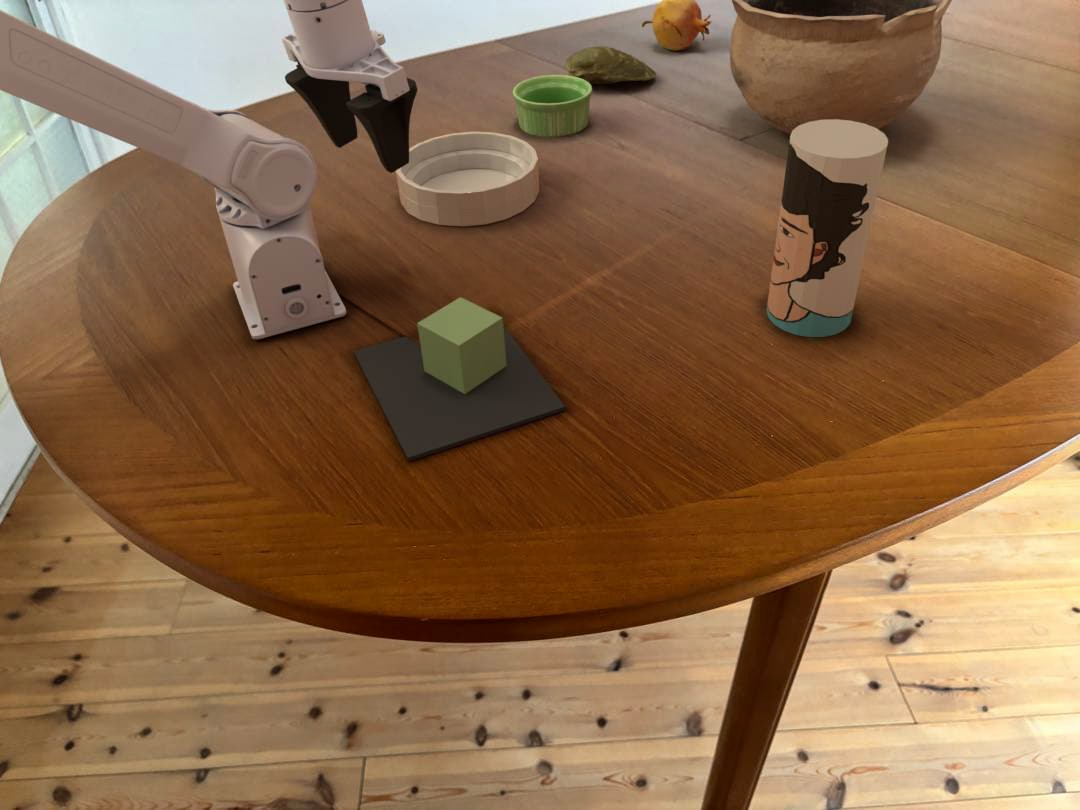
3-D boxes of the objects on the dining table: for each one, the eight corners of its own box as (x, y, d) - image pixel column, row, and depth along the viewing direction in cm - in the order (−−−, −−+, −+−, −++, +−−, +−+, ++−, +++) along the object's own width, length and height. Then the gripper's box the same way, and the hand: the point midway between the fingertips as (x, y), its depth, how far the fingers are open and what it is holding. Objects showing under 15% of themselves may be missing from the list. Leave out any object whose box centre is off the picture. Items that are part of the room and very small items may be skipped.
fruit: (629, 6, 121) (698, 15, 117) (653, -21, 124) (721, -13, 120) (635, 53, 127) (701, 63, 122) (658, 26, 130) (723, 35, 125)
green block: (506, 366, 70) (502, 317, 68) (465, 394, 68) (458, 345, 65) (466, 344, 73) (460, 296, 70) (424, 371, 70) (416, 323, 68)
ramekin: (512, 114, 110) (510, 77, 107) (587, 108, 110) (586, 71, 107) (517, 145, 103) (515, 106, 100) (597, 138, 103) (597, 100, 100)
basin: (561, 209, 90) (560, 172, 88) (427, 244, 86) (422, 205, 84) (507, 157, 100) (504, 121, 98) (384, 185, 96) (378, 149, 94)
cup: (797, 282, 78) (824, 111, 69) (867, 312, 75) (906, 136, 65) (749, 314, 75) (771, 139, 66) (820, 347, 71) (854, 167, 62)
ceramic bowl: (843, 188, 91) (871, 33, 82) (679, 128, 104) (687, -12, 95) (960, 122, 102) (997, -21, 93) (799, 75, 115) (816, -55, 106)
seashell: (670, 62, 116) (628, 16, 108) (649, 116, 115) (606, 73, 108) (608, 62, 122) (565, 18, 115) (588, 112, 122) (543, 72, 114)
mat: (565, 410, 67) (565, 406, 66) (408, 461, 63) (407, 457, 63) (493, 315, 77) (492, 311, 76) (354, 354, 73) (353, 350, 73)
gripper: (420, -8, 67) (459, 156, 77) (312, -39, 76) (359, 112, 85) (343, 31, 64) (394, 196, 74) (240, -6, 73) (297, 147, 82)
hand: (371, 154), depth 79 cm, fingers open, 7 cm apart
